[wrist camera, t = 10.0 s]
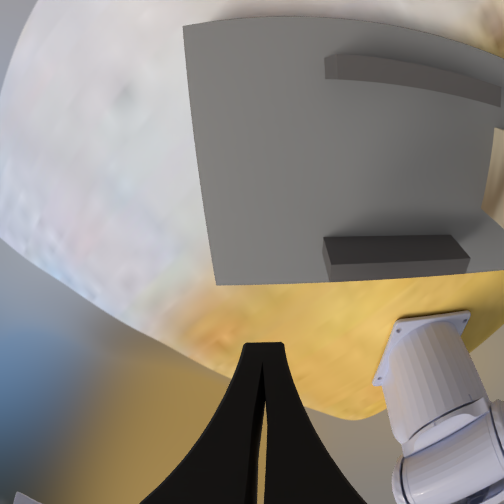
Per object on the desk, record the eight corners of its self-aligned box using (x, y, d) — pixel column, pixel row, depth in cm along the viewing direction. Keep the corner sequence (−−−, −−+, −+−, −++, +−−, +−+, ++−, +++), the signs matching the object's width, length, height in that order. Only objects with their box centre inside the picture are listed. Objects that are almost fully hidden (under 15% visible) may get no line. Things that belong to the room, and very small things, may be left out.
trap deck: (548, 248, 18) (577, 279, 13) (221, 261, 20) (209, 315, 16) (578, 105, 10) (617, 123, 6) (195, 33, 12) (164, 16, 8)
